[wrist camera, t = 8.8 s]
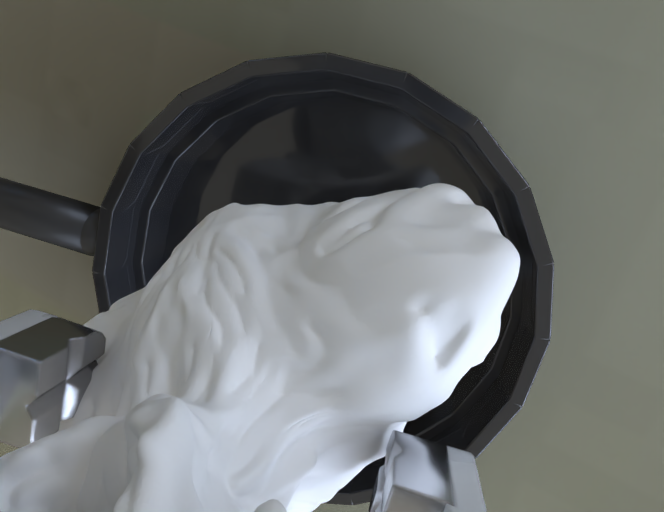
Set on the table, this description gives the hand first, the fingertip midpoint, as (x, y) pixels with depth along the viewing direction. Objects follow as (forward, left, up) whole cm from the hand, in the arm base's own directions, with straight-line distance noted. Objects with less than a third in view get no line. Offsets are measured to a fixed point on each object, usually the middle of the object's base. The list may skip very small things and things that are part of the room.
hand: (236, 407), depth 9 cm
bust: (0, 0, -5) cm, 5 cm away
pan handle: (-12, 0, -8) cm, 14 cm away
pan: (0, 0, -10) cm, 10 cm away
